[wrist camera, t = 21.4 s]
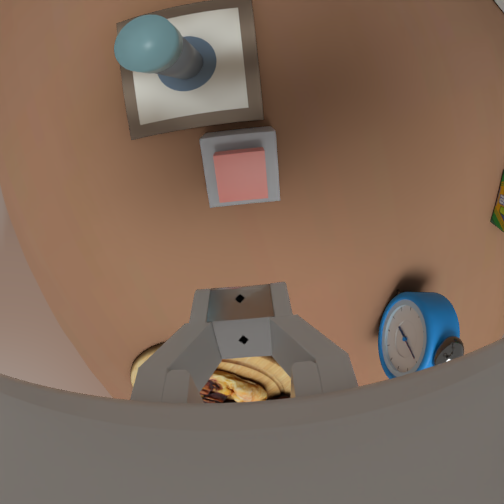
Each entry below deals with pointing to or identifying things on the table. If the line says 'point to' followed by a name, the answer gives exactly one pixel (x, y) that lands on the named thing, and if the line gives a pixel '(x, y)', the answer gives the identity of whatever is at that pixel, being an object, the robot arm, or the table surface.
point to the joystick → (156, 48)
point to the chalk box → (499, 208)
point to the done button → (241, 174)
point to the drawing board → (200, 73)
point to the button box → (233, 142)
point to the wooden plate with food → (237, 379)
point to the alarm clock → (418, 333)
